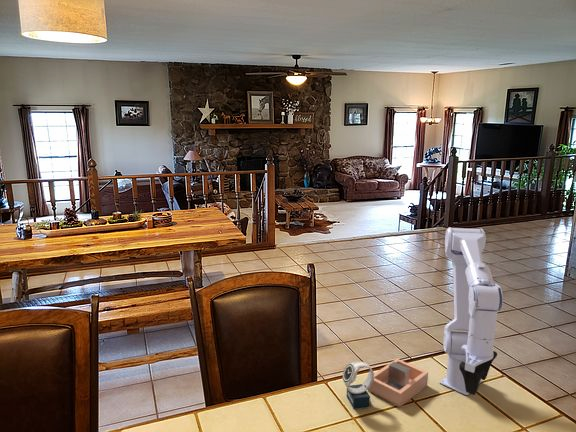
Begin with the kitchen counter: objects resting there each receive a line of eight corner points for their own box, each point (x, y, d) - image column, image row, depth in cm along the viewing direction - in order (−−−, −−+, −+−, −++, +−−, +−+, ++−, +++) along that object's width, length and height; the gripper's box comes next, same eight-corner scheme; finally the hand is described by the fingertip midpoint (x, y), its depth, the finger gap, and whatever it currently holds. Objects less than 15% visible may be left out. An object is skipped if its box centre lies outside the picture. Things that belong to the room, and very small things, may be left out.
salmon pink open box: (396, 370, 132) (396, 358, 131) (427, 385, 125) (428, 372, 124) (367, 390, 122) (368, 377, 121) (399, 407, 115) (400, 393, 114)
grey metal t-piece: (395, 379, 127) (396, 359, 125) (411, 386, 123) (412, 367, 122) (385, 386, 123) (386, 366, 122) (401, 394, 120) (402, 374, 118)
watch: (339, 397, 119) (340, 359, 117) (368, 393, 121) (369, 356, 119) (346, 410, 114) (347, 371, 112) (376, 406, 116) (377, 368, 113)
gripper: (473, 318, 114) (468, 366, 117) (453, 340, 103) (448, 393, 106) (503, 326, 109) (497, 376, 112) (485, 350, 98) (479, 405, 101)
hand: (475, 385), depth 109 cm, fingers open, 7 cm apart
